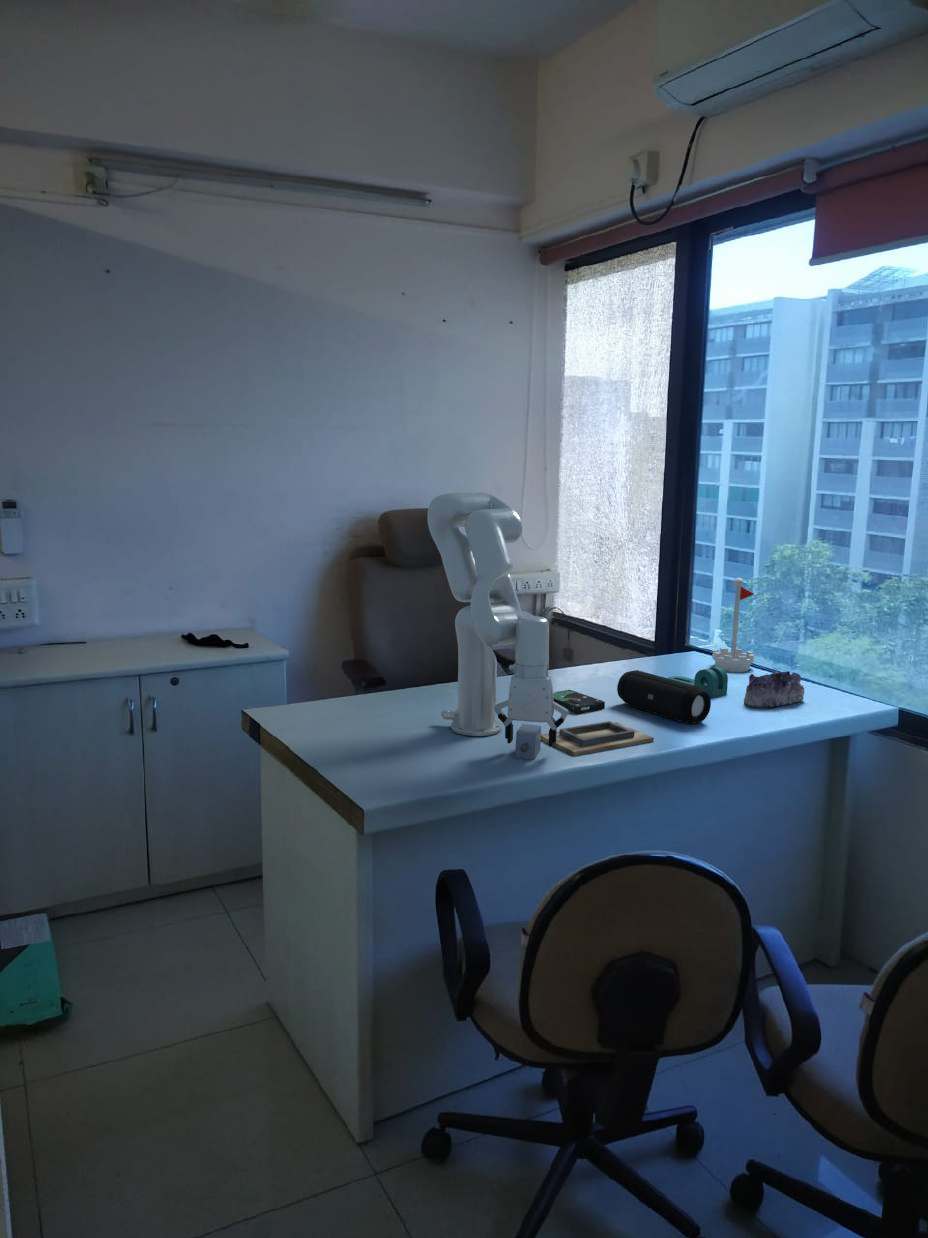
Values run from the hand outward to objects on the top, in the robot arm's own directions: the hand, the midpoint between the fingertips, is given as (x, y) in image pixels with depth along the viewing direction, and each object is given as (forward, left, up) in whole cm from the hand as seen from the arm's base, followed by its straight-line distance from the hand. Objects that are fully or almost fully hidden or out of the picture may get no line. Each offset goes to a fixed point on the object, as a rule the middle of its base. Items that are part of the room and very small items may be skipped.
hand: (530, 743), depth 211 cm
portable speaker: (+27, +45, -3) cm, 52 cm away
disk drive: (+3, +45, -3) cm, 45 cm away
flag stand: (+47, +106, -3) cm, 116 cm away
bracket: (+35, +74, -3) cm, 82 cm away
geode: (+57, +67, -3) cm, 88 cm away
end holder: (+13, +16, -3) cm, 21 cm away
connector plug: (-1, +1, -3) cm, 3 cm away
